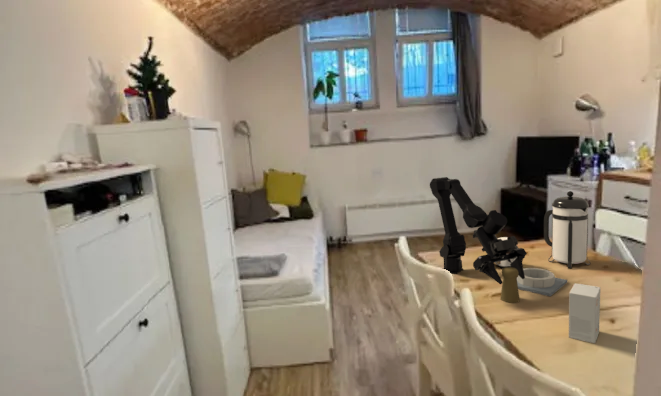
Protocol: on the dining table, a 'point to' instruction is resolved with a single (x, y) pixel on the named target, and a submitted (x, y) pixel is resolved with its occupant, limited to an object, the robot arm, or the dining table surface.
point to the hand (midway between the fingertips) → (512, 281)
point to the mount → (540, 281)
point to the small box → (584, 312)
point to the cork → (510, 285)
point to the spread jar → (505, 263)
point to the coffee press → (568, 229)
